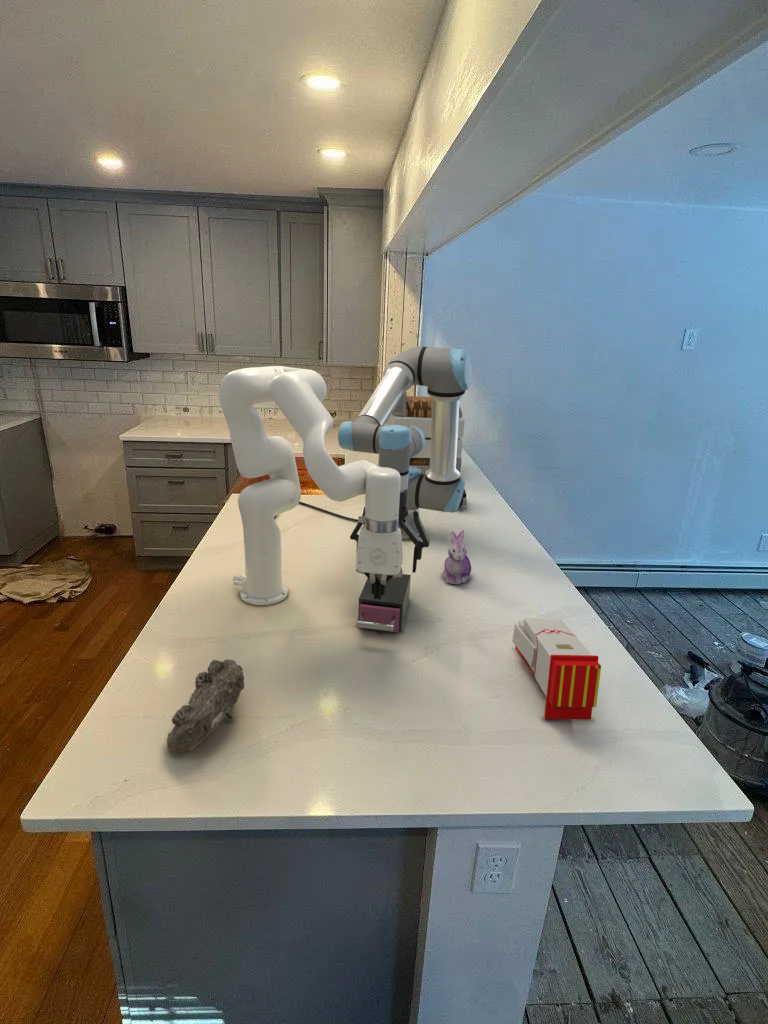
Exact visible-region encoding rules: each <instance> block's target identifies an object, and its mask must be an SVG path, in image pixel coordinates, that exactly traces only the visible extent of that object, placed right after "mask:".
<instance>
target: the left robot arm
mask: <svg viewBox="0 0 768 1024" xmlns="http://www.w3.org/2000/svg"><path fill="white" fill-rule="evenodd" d="M327 389H328V388H327V384H326V381H325V380H324V378H323V377H322V375H321V374H320V373H319V372H317V371H315V370H314V369H310V368H309V369H308V368H300V367H299V368H298V367H290V366H281V365H269V366H253V367H244V368H238V369H235V370H232V371H230V372H228V373H227V374H226V375H225V376H224V377H223V378H222V379H221V382H220V384H219V387H218V398H219V400H218V401H219V405H220V408H221V410H222V413H223V416H224V418H225V422H226V423H227V428H228V431H229V437H230V442H231V446H232V452H233V456H234V461H235V464H236V468H237V471H238V473H239V474H240V476H242V477H244V478H246V479H255V478H261V477H264V476H267V475H268V476H269V478H268V479H264V480H261V481H258V482H255V483H252V484H249V485H248V486H246V487H244V488H243V489H242V490H241V491H240V493H239V495H238V497H237V504H238V505H237V506H238V509H239V510H238V511H239V513H240V518H241V522H242V530H243V546H244V547H243V548H244V549H243V550H244V571H245V575H244V576H243V575H239V574H235V575H233V577H232V580H233V584H232V585H233V586H235V587H241V590H240V593H239V594H240V598H241V600H242V601H243V602H245V603H247V604H250V605H253V606H268V605H273V604H277V603H280V602H282V601H283V600H284V599H286V598H287V596H288V593H289V588H288V587H287V586H286V584H284V583H283V571H282V570H283V569H282V568H283V567H282V566H283V565H282V563H283V562H282V534H281V533H282V532H281V529H280V527H279V526H278V524H277V523H276V521H275V520H276V519H274V517H275V516H276V515H277V516H279V515H281V514H283V513H287V512H289V511H291V510H293V509H294V508H297V506H298V505H299V502H301V499H302V498H301V497H302V489H301V484H300V478H299V472H298V468H297V462H296V461H297V460H296V457H295V452H294V449H293V447H292V446H291V444H290V442H289V441H288V440H287V439H285V437H283V436H280V435H273V434H272V435H268V436H267V435H266V431H265V426H264V421H263V419H262V417H261V416H260V414H259V413H258V411H257V410H256V409H255V408H254V407H253V405H255V404H264V403H270V402H274V403H275V405H276V406H277V407H278V409H279V410H280V411H281V413H282V414H283V415H284V417H285V419H286V420H287V421H288V422H289V424H290V425H291V426H292V428H293V429H294V431H295V432H296V433H297V435H298V436H299V437H300V439H301V440H302V455H303V460H304V464H305V469H306V471H307V473H308V475H309V476H310V478H311V479H312V480H313V482H314V483H315V485H316V486H317V487H318V489H319V490H320V491H321V492H322V494H323V495H324V496H325V497H327V499H329V500H330V501H331V500H332V501H334V502H338V503H340V502H345V501H348V500H351V499H353V498H356V497H358V496H361V495H365V497H364V499H365V500H364V507H365V515H364V516H362V515H361V516H360V515H358V517H357V519H358V522H361V523H363V525H362V526H361V528H360V530H359V534H358V535H359V539H358V547H357V546H356V560H355V572H356V573H358V574H362V575H364V576H365V577H366V578H368V579H369V580H370V582H371V583H372V592H371V593H372V594H374V599H378V600H381V597H382V595H385V584H386V582H387V581H389V580H390V579H391V578H393V577H394V578H396V577H401V576H402V574H404V573H403V572H404V571H403V568H402V565H403V540H402V535H401V530H400V528H398V520H399V501H400V483H401V477H400V474H399V472H398V471H397V470H395V469H392V468H386V467H380V466H379V465H377V464H375V463H373V462H371V461H369V460H364V459H359V460H354V461H351V462H347V463H344V464H340V465H338V464H337V463H336V462H335V461H334V459H333V458H332V456H331V455H330V453H329V451H328V449H327V447H326V442H325V441H326V440H325V439H326V436H327V435H328V434H329V433H330V432H331V430H332V428H333V426H334V418H333V416H332V415H331V414H330V413H329V411H328V410H327V409H326V407H325V406H324V404H323V403H322V402H323V401H324V400H325V399H326V396H327V393H328V391H327ZM277 516H276V517H277ZM358 522H357V523H358ZM377 574H382V577H381V578H380V581H379V578H378V577H377ZM377 597H378V598H377Z"/></svg>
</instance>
